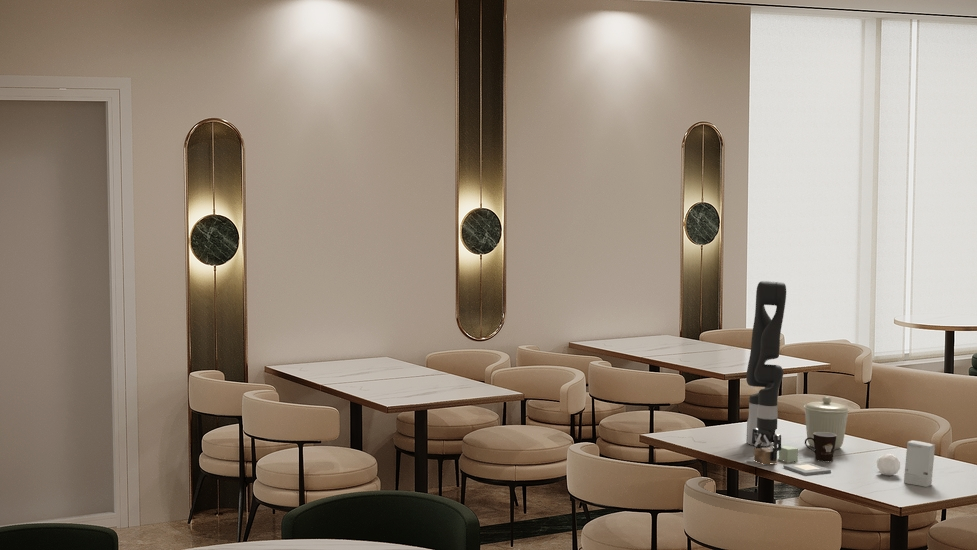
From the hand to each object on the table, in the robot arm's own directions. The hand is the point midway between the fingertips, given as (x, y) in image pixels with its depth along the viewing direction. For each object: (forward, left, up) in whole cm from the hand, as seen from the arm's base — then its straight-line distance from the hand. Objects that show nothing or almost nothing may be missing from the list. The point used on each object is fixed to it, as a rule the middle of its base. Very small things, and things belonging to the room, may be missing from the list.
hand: (765, 458), depth 387 cm
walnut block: (0, 0, -2) cm, 2 cm away
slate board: (+15, +7, -2) cm, 16 cm away
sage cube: (0, +11, -2) cm, 11 cm away
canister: (-13, +41, -2) cm, 43 cm away
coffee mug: (+3, +24, -2) cm, 24 cm away
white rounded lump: (+29, +32, -2) cm, 43 cm away
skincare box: (+44, +32, -2) cm, 54 cm away
